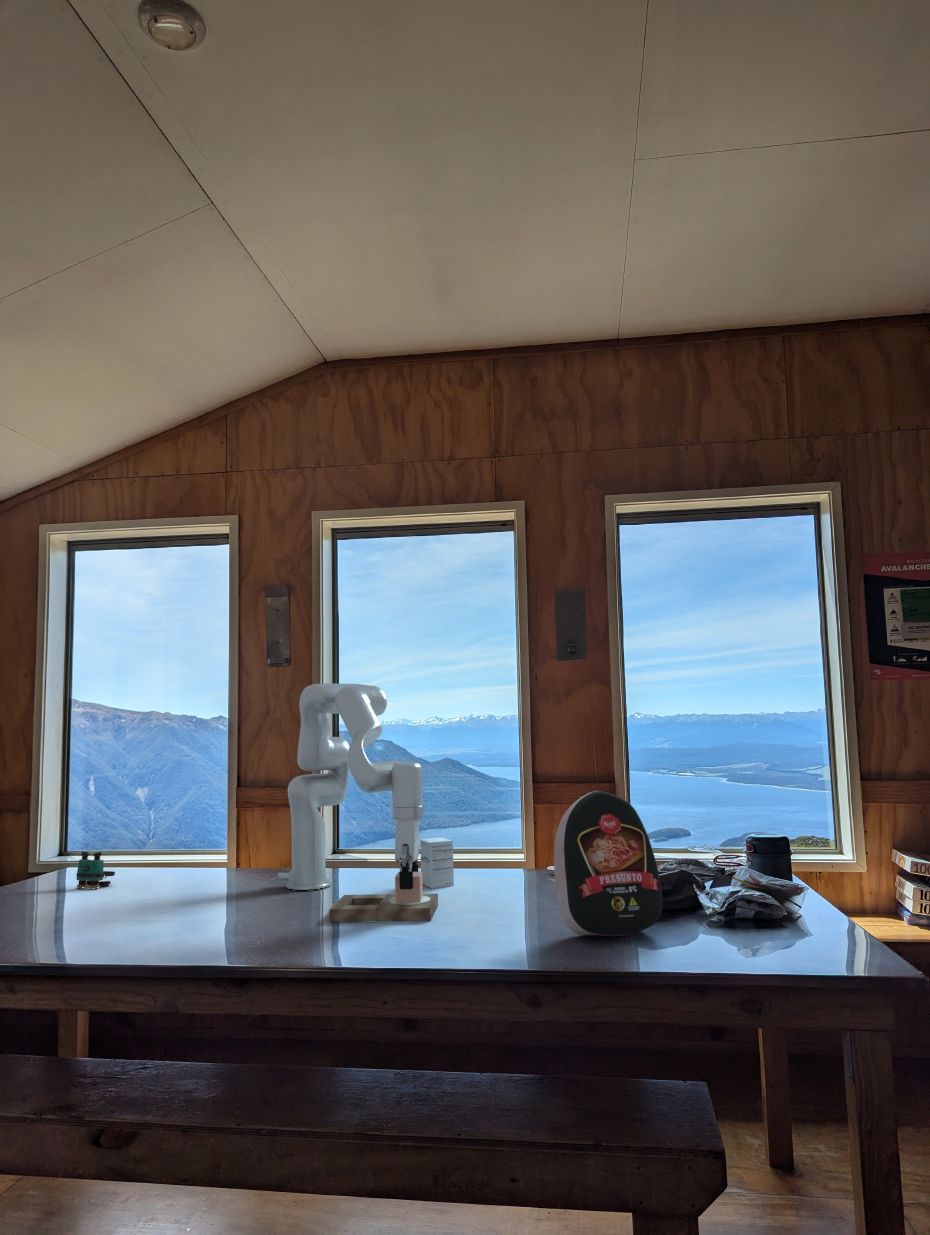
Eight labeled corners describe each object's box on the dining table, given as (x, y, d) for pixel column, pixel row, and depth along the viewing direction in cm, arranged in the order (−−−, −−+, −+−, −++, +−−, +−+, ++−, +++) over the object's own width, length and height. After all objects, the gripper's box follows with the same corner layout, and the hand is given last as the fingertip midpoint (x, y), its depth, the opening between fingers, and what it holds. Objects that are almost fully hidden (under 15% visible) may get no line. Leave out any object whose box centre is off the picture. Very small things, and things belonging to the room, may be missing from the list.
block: (395, 902, 204) (395, 876, 205) (398, 897, 210) (398, 872, 211) (420, 902, 204) (419, 876, 205) (422, 896, 210) (422, 871, 211)
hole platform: (329, 922, 200) (329, 908, 200) (344, 906, 216) (344, 893, 216) (430, 921, 198) (430, 906, 199) (438, 905, 214) (437, 892, 215)
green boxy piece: (121, 850, 258) (98, 852, 248) (118, 887, 256) (94, 890, 246) (96, 850, 260) (73, 852, 251) (93, 886, 258) (69, 889, 249)
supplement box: (420, 884, 242) (419, 839, 243) (444, 881, 245) (443, 836, 246) (430, 888, 235) (429, 842, 237) (454, 885, 238) (453, 839, 240)
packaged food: (579, 951, 170) (572, 799, 174) (544, 928, 189) (539, 791, 192) (676, 940, 176) (668, 793, 179) (633, 919, 195) (627, 786, 198)
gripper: (398, 809, 218) (399, 878, 216) (386, 818, 201) (388, 892, 199) (427, 809, 218) (428, 877, 216) (418, 817, 200) (419, 892, 199)
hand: (409, 884), depth 207 cm, fingers open, 9 cm apart
